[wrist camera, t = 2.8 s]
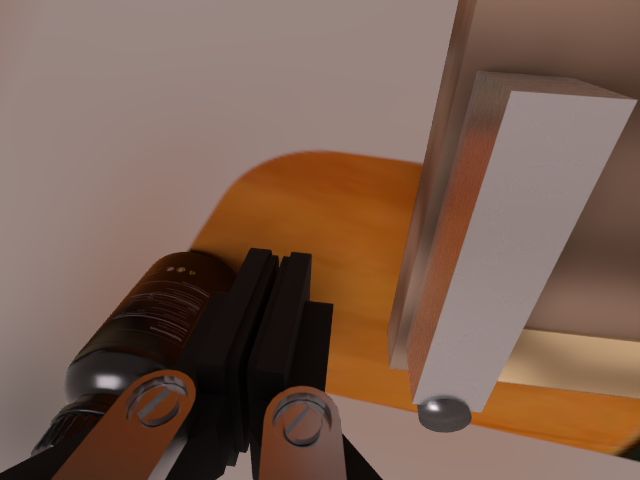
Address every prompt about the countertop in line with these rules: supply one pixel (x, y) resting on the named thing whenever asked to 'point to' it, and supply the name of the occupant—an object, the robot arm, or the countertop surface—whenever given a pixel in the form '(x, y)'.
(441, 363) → the stool leg
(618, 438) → the countertop surface
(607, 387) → the stool seat
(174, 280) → the supplement bottle
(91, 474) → the robot arm
